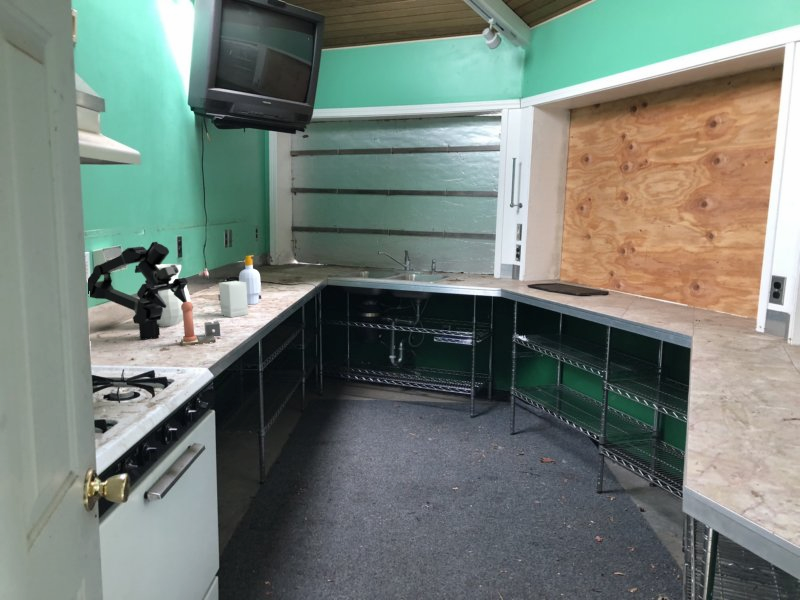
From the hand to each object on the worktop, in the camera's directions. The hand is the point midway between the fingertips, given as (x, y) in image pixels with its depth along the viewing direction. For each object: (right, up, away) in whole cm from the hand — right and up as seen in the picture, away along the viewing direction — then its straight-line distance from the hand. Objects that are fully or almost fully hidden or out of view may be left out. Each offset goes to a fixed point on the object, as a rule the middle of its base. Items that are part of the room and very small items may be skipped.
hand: (176, 305), depth 197 cm
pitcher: (-16, -9, +32) cm, 37 cm away
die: (+10, -12, +10) cm, 19 cm away
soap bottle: (+6, 0, +76) cm, 77 cm away
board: (+8, -14, +1) cm, 16 cm away
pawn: (+5, -13, -1) cm, 14 cm away
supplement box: (+6, -5, +49) cm, 50 cm away
